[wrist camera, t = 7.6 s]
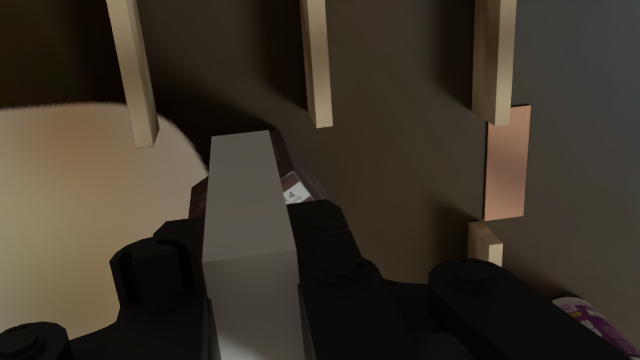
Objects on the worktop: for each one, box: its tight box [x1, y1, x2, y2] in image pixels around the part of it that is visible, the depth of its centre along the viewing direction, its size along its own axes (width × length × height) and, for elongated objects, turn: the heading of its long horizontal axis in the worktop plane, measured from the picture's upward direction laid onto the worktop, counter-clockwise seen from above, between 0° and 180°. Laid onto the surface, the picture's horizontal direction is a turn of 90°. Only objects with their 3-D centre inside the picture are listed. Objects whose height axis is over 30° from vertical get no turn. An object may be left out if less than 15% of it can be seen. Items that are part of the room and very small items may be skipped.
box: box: [188, 129, 335, 219], centre depth 29 cm, size 6×6×7 cm
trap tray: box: [106, 0, 531, 267], centre depth 31 cm, size 24×22×3 cm
